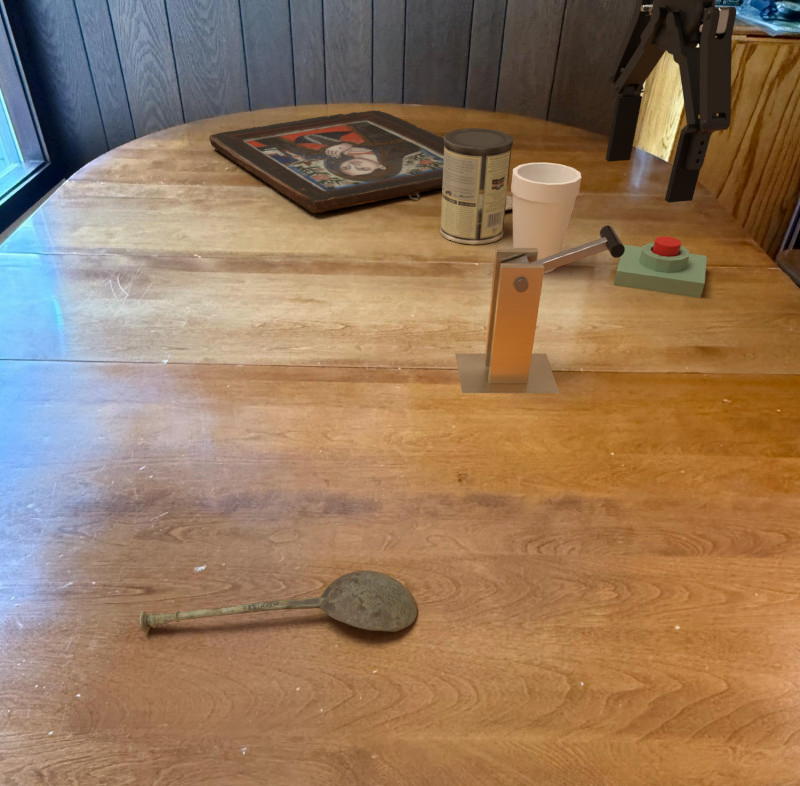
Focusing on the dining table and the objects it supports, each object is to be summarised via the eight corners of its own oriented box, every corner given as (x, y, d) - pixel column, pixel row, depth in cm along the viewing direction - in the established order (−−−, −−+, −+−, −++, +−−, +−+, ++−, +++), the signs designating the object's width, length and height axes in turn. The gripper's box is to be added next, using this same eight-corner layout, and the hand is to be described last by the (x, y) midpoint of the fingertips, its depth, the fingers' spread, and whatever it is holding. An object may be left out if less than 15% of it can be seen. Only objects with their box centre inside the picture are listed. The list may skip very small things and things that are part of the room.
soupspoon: (422, 644, 62) (411, 588, 67) (425, 614, 60) (414, 558, 65) (137, 659, 59) (148, 599, 64) (129, 628, 57) (142, 569, 62)
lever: (615, 240, 82) (611, 218, 81) (626, 259, 78) (623, 237, 77) (504, 278, 85) (498, 258, 83) (510, 299, 81) (505, 278, 79)
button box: (702, 270, 115) (710, 243, 112) (700, 298, 108) (708, 270, 105) (621, 258, 117) (626, 232, 115) (613, 285, 110) (619, 258, 108)
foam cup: (550, 284, 110) (564, 189, 102) (492, 269, 114) (501, 176, 105) (575, 261, 116) (591, 170, 108) (519, 247, 120) (530, 158, 111)
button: (678, 250, 111) (682, 238, 110) (677, 260, 109) (680, 247, 107) (653, 247, 112) (656, 234, 111) (651, 256, 109) (654, 244, 108)
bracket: (544, 362, 94) (563, 240, 84) (558, 402, 87) (580, 275, 77) (454, 362, 94) (463, 240, 84) (461, 402, 87) (471, 275, 77)
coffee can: (453, 216, 129) (458, 124, 120) (511, 227, 126) (522, 133, 117) (428, 238, 122) (433, 141, 113) (490, 249, 119) (499, 151, 110)
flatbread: (469, 211, 131) (469, 205, 130) (474, 196, 136) (474, 190, 136) (517, 215, 130) (518, 209, 129) (520, 200, 135) (521, 194, 135)
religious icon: (316, 222, 126) (315, 203, 124) (207, 150, 154) (204, 133, 152) (507, 180, 143) (509, 163, 141) (377, 122, 171) (377, 107, 169)
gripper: (600, -80, 78) (567, 147, 92) (741, -54, 60) (673, 223, 74) (667, -80, 79) (624, 143, 94) (824, -55, 62) (742, 217, 76)
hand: (646, 179), depth 84 cm, fingers open, 13 cm apart
